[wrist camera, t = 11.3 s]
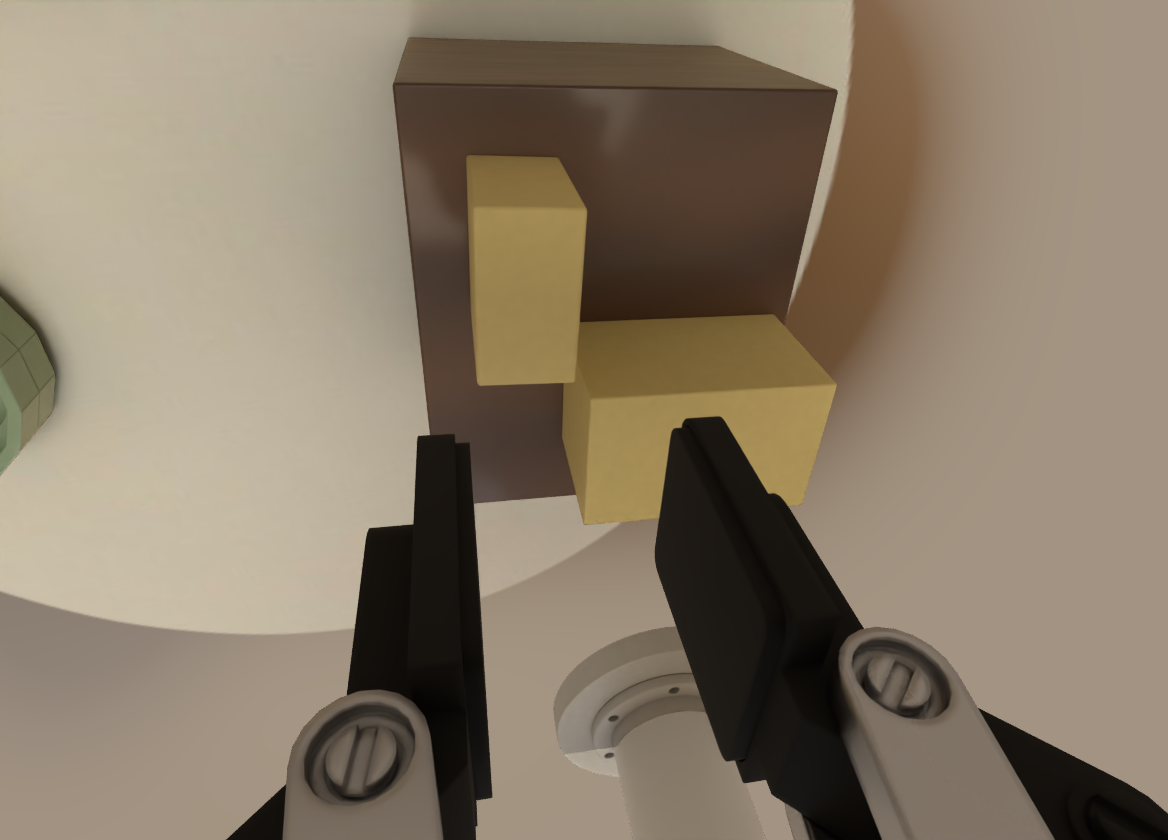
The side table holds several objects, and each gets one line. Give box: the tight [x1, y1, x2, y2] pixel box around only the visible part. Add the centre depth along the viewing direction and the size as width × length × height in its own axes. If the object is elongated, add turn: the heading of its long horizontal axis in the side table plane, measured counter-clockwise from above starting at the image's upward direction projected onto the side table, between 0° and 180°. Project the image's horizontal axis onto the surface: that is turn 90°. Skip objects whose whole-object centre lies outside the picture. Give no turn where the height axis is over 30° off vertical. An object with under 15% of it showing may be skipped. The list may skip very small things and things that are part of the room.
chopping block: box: [393, 38, 838, 503], centre depth 26 cm, size 14×12×10 cm
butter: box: [562, 314, 837, 525], centre depth 21 cm, size 4×7×4 cm, turn 88°
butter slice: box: [466, 155, 587, 386], centre depth 18 cm, size 4×2×4 cm, turn 176°
